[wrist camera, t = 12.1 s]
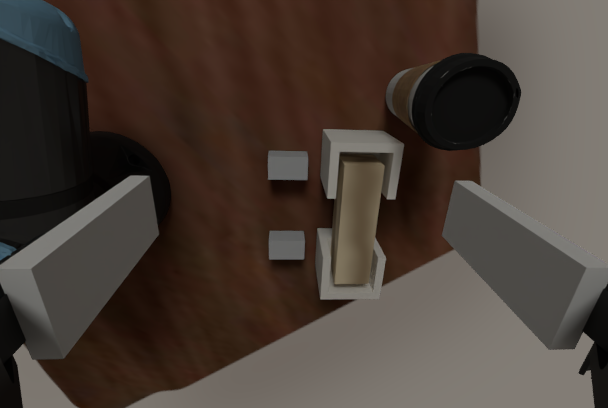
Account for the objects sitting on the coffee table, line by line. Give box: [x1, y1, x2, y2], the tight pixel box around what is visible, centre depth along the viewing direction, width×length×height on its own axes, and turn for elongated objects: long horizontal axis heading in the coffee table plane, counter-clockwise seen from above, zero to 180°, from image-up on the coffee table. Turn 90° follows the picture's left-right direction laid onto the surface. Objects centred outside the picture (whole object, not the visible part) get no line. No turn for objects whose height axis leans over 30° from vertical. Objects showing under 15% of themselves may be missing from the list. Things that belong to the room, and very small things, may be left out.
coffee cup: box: [386, 53, 521, 151], centre depth 33 cm, size 8×8×15 cm
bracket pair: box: [315, 129, 404, 299], centre depth 42 cm, size 8×21×8 cm, turn 178°
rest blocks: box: [268, 151, 308, 259], centre depth 43 cm, size 5×15×3 cm, turn 178°
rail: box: [330, 154, 385, 284], centre depth 40 cm, size 4×16×5 cm, turn 178°
